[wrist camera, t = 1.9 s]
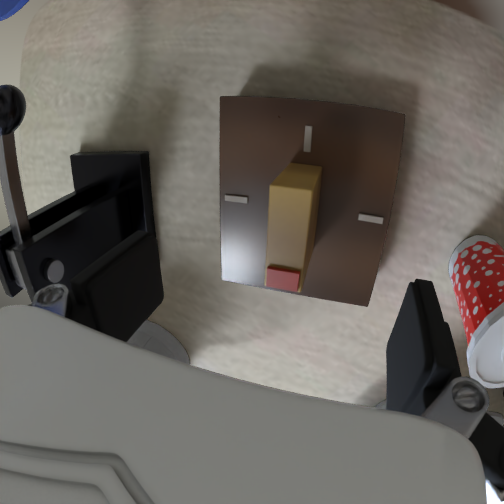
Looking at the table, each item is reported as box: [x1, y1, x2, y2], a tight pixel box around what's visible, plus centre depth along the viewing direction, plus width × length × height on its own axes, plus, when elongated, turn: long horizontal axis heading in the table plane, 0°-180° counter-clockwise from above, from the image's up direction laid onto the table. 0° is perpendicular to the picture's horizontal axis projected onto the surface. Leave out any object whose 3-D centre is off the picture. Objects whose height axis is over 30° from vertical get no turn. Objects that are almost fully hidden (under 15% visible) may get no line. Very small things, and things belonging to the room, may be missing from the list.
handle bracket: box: [0, 151, 156, 302], centre depth 20 cm, size 10×8×12 cm
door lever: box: [0, 85, 34, 290], centre depth 14 cm, size 13×3×3 cm, turn 179°
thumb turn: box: [264, 163, 323, 293], centre depth 15 cm, size 5×2×5 cm, turn 179°
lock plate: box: [220, 96, 406, 307], centre depth 19 cm, size 12×10×3 cm
